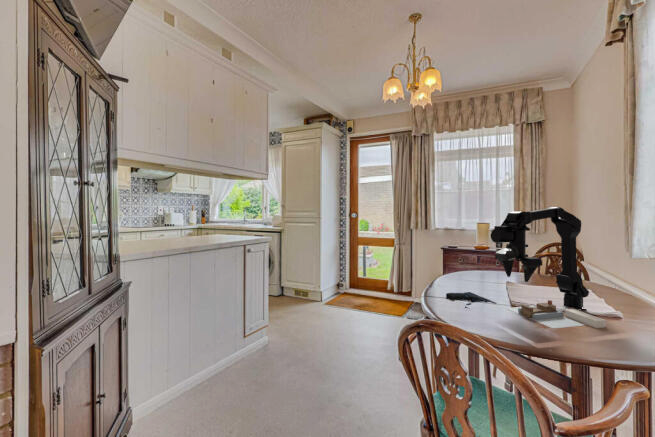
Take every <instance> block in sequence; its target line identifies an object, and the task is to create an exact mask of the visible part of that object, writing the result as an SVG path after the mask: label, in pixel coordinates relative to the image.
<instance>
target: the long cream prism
mask: <svg viewBox="0 0 655 437" xmlns="http://www.w3.org/2000/svg"><path fill="white" fill-rule="evenodd" d="M564 317H566V318H568V319H571V320H574V321H576V322H579V323H582V324H584V325H587V326H590V327H592V328H594V329H600V328H607V327H606V326H607V321H606V319H603V318H600V317H597V316H596V315H592V314H590V313H586V312H583V311H582V310H578V309H575V308H569V309H567V308H566V309H564Z"/></svg>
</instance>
